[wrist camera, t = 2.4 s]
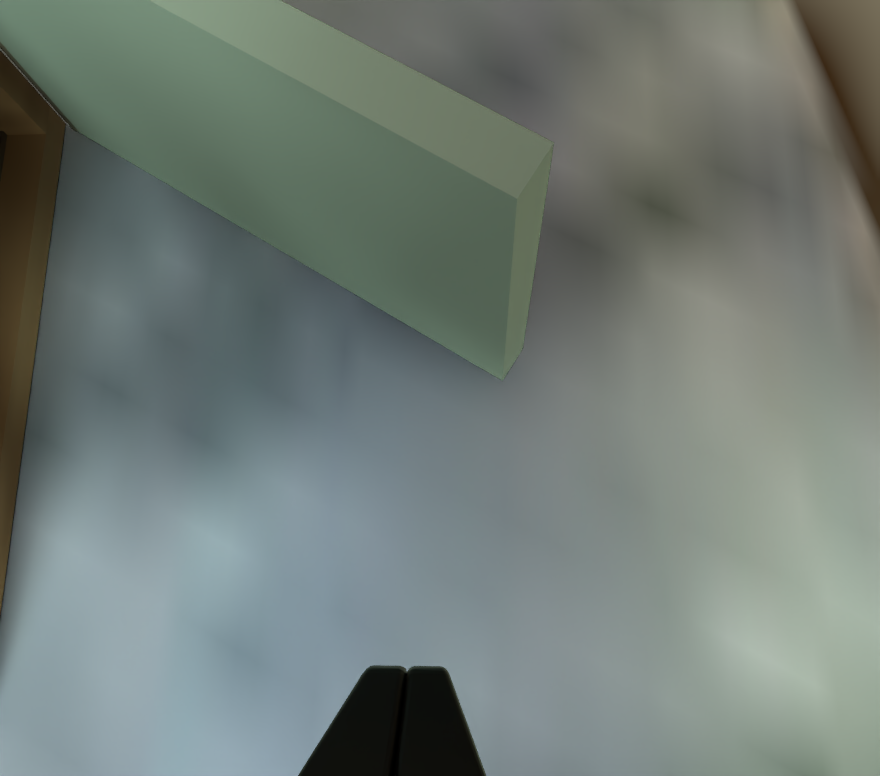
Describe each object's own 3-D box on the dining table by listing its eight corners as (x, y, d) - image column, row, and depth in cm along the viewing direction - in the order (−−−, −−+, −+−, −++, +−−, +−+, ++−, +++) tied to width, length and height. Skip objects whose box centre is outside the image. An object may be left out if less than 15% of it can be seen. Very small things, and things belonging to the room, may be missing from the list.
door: (544, 317, 19) (596, 67, 10) (502, 384, 19) (518, 186, 10) (106, 70, 22) (-171, -314, 12) (61, 125, 21) (-257, -228, 12)
